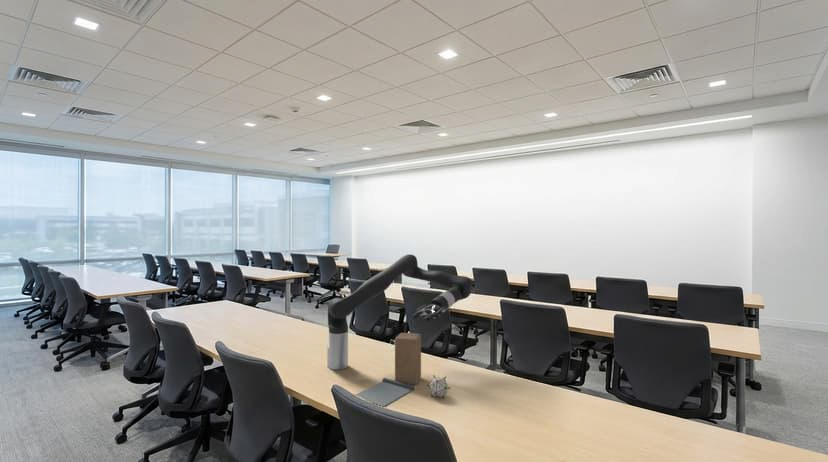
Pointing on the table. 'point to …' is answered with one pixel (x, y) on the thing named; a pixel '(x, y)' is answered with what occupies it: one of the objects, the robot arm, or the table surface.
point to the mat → (386, 392)
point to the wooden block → (408, 358)
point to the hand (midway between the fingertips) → (419, 318)
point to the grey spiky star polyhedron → (438, 387)
